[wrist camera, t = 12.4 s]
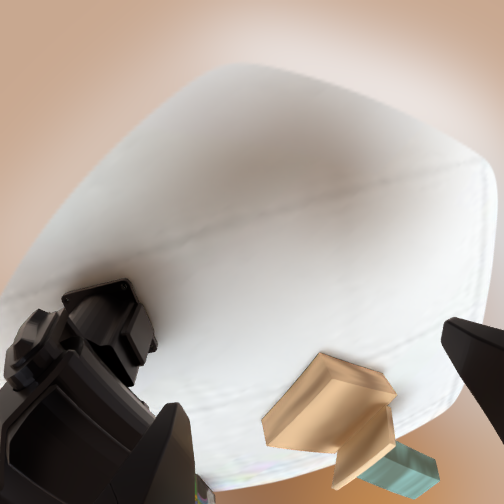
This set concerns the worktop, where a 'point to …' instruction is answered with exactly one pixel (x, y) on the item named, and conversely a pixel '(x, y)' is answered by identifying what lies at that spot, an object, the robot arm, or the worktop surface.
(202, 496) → the chalk box
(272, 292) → the worktop surface
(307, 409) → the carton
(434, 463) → the tall teal pillar
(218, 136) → the worktop surface
